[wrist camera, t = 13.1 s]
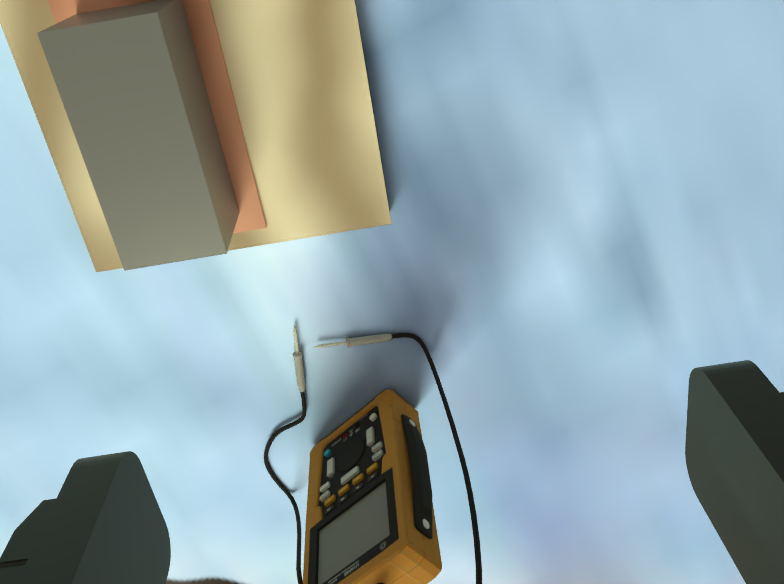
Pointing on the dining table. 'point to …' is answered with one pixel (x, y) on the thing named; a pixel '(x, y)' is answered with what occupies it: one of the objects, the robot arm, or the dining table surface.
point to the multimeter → (372, 493)
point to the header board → (243, 115)
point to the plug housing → (145, 130)
